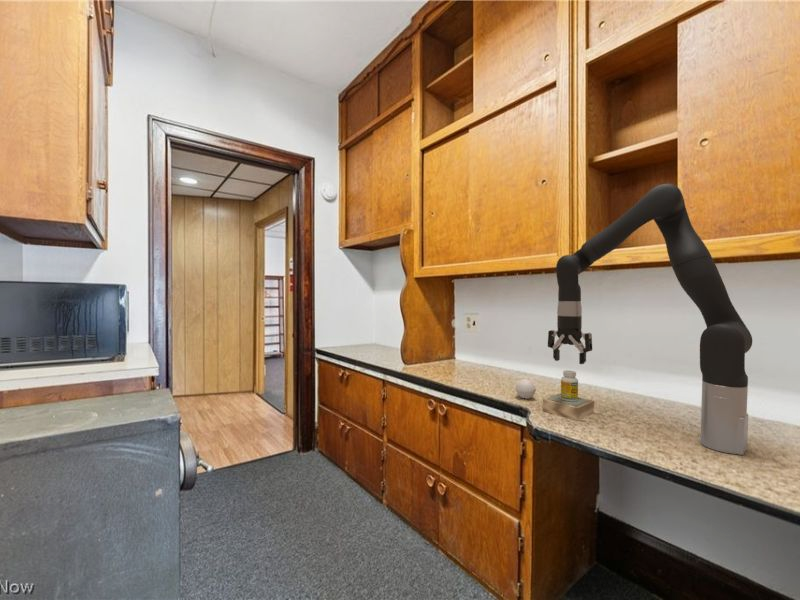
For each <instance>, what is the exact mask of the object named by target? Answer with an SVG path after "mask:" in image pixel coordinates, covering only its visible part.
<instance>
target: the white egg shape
mask: <svg viewBox="0 0 800 600" xmlns="http://www.w3.org/2000/svg"><path fill="white" fill-rule="evenodd" d="M514 389H515V392H516V394H517V396H518V397H520V398H522V399H524V398H525V399H526V400H528V399H531V398H532V397H533V396H534V395H535V394H536V391H537V388H536V386H535V383H534V382H533V381H531V380H529V379H526V378H523V379H520V380H518V381H517V382H516V384H515V388H514Z"/></svg>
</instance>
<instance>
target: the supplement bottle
mask: <svg viewBox="0 0 800 600" xmlns="http://www.w3.org/2000/svg"><path fill="white" fill-rule="evenodd" d="M562 374H563V376H561V379H560V393H561V399H562V400H565V401H570V402H574V401H577V400H578V397H579V380H578V378H576V376H577V372H576V371H574V370H563V371H562Z"/></svg>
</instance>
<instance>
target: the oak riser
mask: <svg viewBox="0 0 800 600" xmlns="http://www.w3.org/2000/svg"><path fill="white" fill-rule="evenodd" d="M544 411H545V412H544ZM542 412H544V413H549V414H553V415H555V416H559V417H563V418H567V419H571V420H574V421H579V420H582V419H584V418H586V417H589V416H590V415H593V414H594V413H595V400H592V399H588V398H587V399H586V398H582V397H579V396H578V400H577V401H574V402H570V401H565V400H562V399H561V392H560V393H557V394H555V395H552V396H549V397H545V398H543V399H542Z"/></svg>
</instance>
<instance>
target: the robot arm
mask: <svg viewBox="0 0 800 600" xmlns="http://www.w3.org/2000/svg"><path fill="white" fill-rule="evenodd" d="M651 221H654V223H655V225H656V226H657V227H658V229H659V231H660V233H661V235H662V237H663V240H664V243H665V246H666V251H667V255H668V259H669V262H670V265H671V268H672V270H673V272H674V275H675V277H676V279H677V281H678V283H679V285H680V286H681V288H682V289H683V291H684V292H685V293H686V294H687V296H688V297H689V298H690V300H691V301H692V302H693V303H694V304H695V305H696V307H697V308H698V310H699V311H700V313H701V315H702V318H703V320H704V323H705V325H706V328H705V329H704V330H703V331H702V333H701V336H700V340H699V368H700V369H699V370H700V371H701V372H700V373H701V375H702V377H701V379H702V383H701V407H700V409H701V410H700V433H699V434H700V435H699V438H700V439H699V442H700V444H701V445H702V446H704V447H705V448H709V449H711V450H713V451H716V452H717V451H718V452H721V453H726V454H735V455H740V456H744V455H745V453H746V452H747V450H748V438H749V437H748V432H749V414H748V389H749V388H748V385H749V377H748V375H747V373H746V368H745V361H746V360H745V359H746V358H745V356H746V355H745V354H746V353H748V352H750V350H751V348H752V346H753V336H752V334H751V331H750V330H749V329H748V327H747V325H746V324H745V322H744V321H743V320H742V318H741V316H740V314H739V313H738V311H737V310H736V308H735V306H734V304H733V303H732V301H731V298H730V295H729V293H728V291H727V288H726V286H725V283H724V281H723V278H722V277H721V275H720V272H719V269H718V267H717V265H716V263H715V261H714V258H713V257H712V254H711V253H710V251H709V249H708V247H707V246H706V245H705V242H704V241H703V240H702V238H701V237H700V236H699V235H698V233H697V232H696V230H695V229H694V227H693V225H692V222H691V220H690V217H689V214H688V211H687V207H686V203H685V198H684V195H683V193H682V191H681V189H680V188H679V187H678V186H677V185H674V184H673V183H663V184H662V183H661V184H659V185H656V186H654V187H652V188H651V189H650V190H649V191H648V192H647V193H645V194H644V195H643V196H642V197H641V198H640V199H639V200H638V201H637V202H636V203H635V204H634V205H633V206H632V207H630V208H629V209H628V210H627V211H626V212H624V214H623V215H621V216H619V218H617V219H615V220H614V221H613V222H612V223H611V224H610V225H608V226H607V227H605V228H604V229H603V230H601V231H600V232H597V234H595V235H594V236H593V237H591V238H590V239H588V240H587V241H586V242H584V243H583V244H582V245H581V248H579V249H578V250H577V251H575V252H574V253H572V254H571V255H569V254H565V255H562V256H561V257H560V258H558V260H557V262H556V267H555V273H556V281H557V286H558V287H557V288H558V292H557V293H558V294H557V296H558V299H557V300H558V301H557V312H556V314H557V319H556V320H557V323H556V324H557V325H556V327H557V330H554V329H551V330H548V333H547V334H548V335H547V347H548V348H551V349H552V352H553V355H552V356H553V357H552V358H553V360H554V361H555V362H558V361H560V359H561V358H560V356H561V355H560V354H561V353H560V351H561V350H560V348H561V347H562V345H570V346H574V347H575V348H576V349H578V351H579V353H578V354H579V355H578V356H579V362H578V363H579V365H584V364H585V363H586V362H587V353H588V352H592V351H593V339H592V338H593V336H592V333H591V332H587V333H586V332H585V333H583V332H582V326H583V325H582V324H583V321H582V319H583V317H582V316H583V315H582V313H583V309H582V289H581V285H580V284H579V283H580V282H579V275H580V274H581V273H583V272H584V271H586V270H587V269H588V268H590V267H591V266H592V265H593V264H594V263H595V262H597V261H598V260H600V259H602V258H604V257H605V256H607V255H608V254H610V253H611V252H612V251H614V250H615V249H616V248H617V247H619V246H621V245H622V243H624V241H626V240H627V239H628V238H629V237H630V236H631V235H632V234H633V233H634V232H635V231H637V230H639V229H640V228H642V226H644V225H645V224H647V223H649V222H651ZM556 337H558V339H557V340H556ZM581 339H583V340H584V342H583V341H582V340H581ZM555 340H556V341H555Z"/></svg>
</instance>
